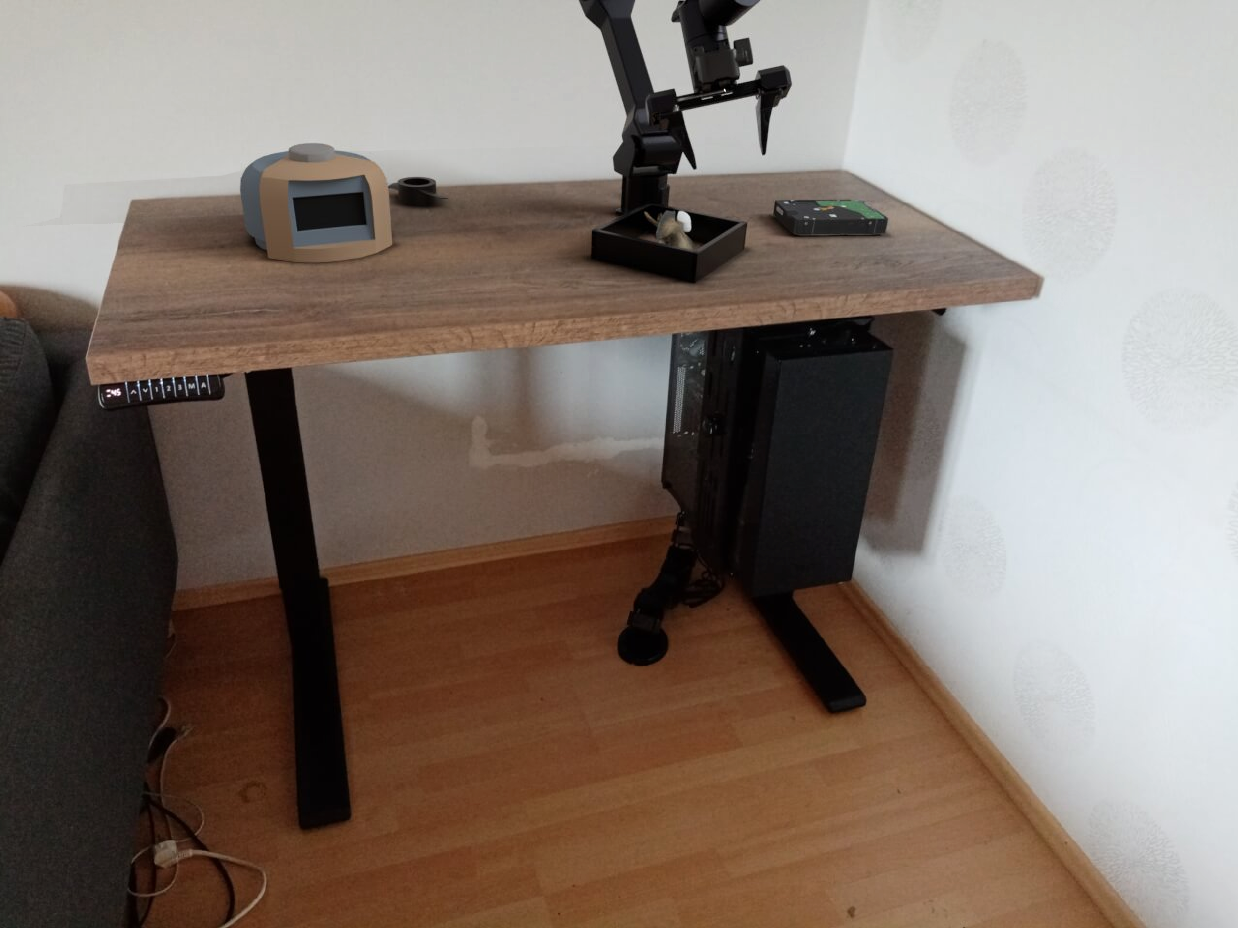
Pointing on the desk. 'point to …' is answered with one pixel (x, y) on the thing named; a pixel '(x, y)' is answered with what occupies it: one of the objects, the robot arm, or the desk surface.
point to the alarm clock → (316, 204)
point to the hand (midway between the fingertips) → (729, 161)
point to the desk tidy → (627, 250)
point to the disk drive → (829, 217)
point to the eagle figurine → (673, 229)
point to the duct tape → (416, 191)
